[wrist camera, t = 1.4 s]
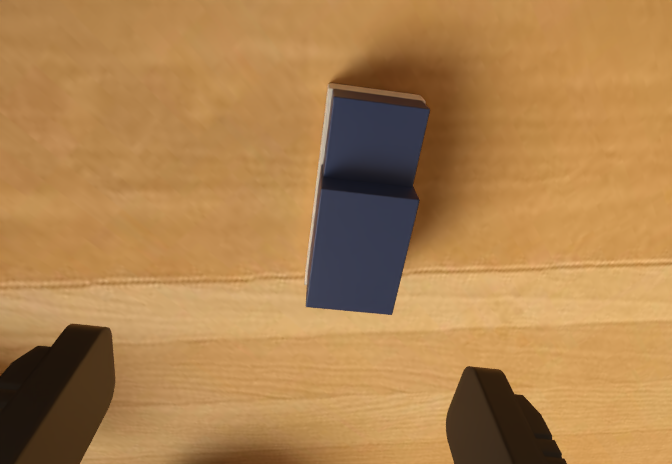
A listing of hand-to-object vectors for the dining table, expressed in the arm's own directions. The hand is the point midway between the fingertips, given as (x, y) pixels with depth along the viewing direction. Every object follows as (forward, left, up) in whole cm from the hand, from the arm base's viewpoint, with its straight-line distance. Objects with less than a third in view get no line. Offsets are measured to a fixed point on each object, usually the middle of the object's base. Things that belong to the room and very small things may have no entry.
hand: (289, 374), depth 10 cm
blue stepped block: (0, +4, -17) cm, 18 cm away
